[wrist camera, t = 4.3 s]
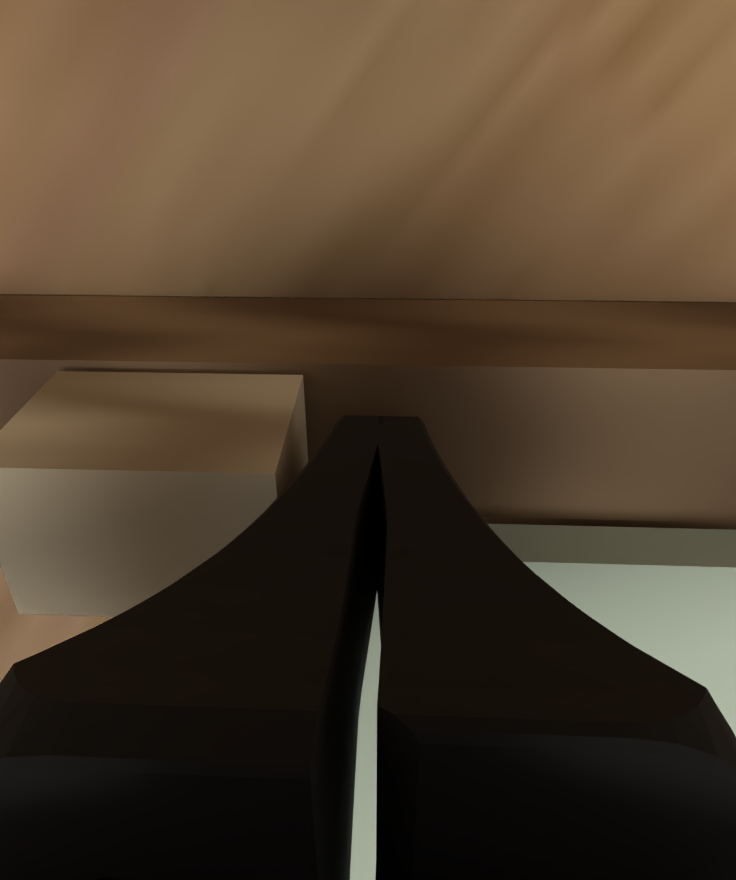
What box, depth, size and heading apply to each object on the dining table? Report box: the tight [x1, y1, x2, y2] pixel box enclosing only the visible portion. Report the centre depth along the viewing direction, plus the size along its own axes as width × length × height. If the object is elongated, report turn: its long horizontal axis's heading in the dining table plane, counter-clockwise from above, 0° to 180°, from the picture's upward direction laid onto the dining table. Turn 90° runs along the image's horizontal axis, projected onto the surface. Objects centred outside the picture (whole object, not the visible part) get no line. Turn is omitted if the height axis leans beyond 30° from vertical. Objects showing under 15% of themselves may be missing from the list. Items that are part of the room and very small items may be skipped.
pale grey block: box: [0, 371, 308, 617], centre depth 11 cm, size 4×3×3 cm, turn 90°
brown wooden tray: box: [0, 295, 736, 530], centre depth 18 cm, size 18×21×3 cm
